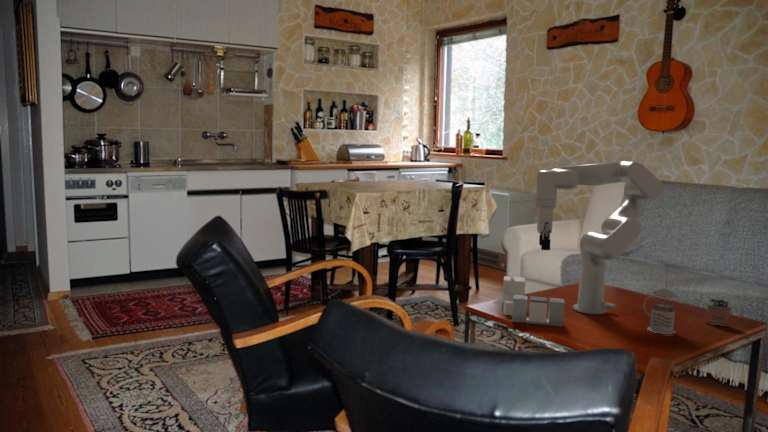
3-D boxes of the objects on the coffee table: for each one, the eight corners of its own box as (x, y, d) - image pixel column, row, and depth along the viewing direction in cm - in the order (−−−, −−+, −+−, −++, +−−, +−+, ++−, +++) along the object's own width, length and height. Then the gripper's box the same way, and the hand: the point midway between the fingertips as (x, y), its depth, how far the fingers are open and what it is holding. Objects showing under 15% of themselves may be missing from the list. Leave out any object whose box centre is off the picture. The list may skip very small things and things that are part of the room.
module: (545, 318, 238) (546, 297, 237) (545, 322, 233) (547, 301, 232) (528, 317, 239) (530, 296, 238) (528, 321, 234) (530, 299, 233)
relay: (513, 313, 248) (514, 300, 247) (516, 316, 244) (516, 303, 243) (503, 312, 248) (504, 300, 247) (505, 315, 244) (506, 302, 243)
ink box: (523, 311, 251) (525, 277, 250) (501, 309, 253) (503, 275, 251) (523, 305, 260) (525, 273, 258) (502, 303, 261) (504, 271, 260)
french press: (674, 337, 225) (681, 267, 222) (639, 330, 231) (645, 262, 228) (678, 330, 233) (684, 262, 230) (644, 324, 239) (650, 258, 236)
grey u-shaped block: (561, 322, 237) (563, 298, 236) (562, 327, 231) (564, 303, 230) (512, 317, 241) (513, 294, 240) (511, 322, 235) (513, 298, 234)
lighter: (728, 325, 243) (731, 299, 242) (730, 327, 240) (733, 301, 239) (704, 322, 246) (707, 296, 245) (706, 324, 243) (709, 298, 241)
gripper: (534, 200, 252) (532, 243, 254) (537, 205, 235) (535, 251, 237) (554, 200, 251) (552, 243, 253) (558, 206, 234) (556, 252, 236)
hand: (544, 247), depth 245 cm, fingers open, 9 cm apart
